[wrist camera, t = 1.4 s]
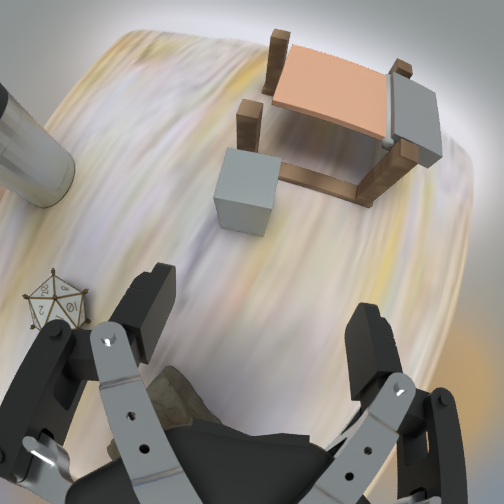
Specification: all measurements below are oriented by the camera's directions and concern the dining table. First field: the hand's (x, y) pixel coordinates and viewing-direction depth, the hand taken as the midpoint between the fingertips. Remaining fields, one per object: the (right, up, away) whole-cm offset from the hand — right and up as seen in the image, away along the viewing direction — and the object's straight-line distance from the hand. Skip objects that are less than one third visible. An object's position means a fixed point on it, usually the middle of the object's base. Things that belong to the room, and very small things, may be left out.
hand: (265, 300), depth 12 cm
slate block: (-1, +8, +17) cm, 19 cm away
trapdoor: (+11, +18, +15) cm, 26 cm away
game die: (-23, -5, +19) cm, 31 cm away
